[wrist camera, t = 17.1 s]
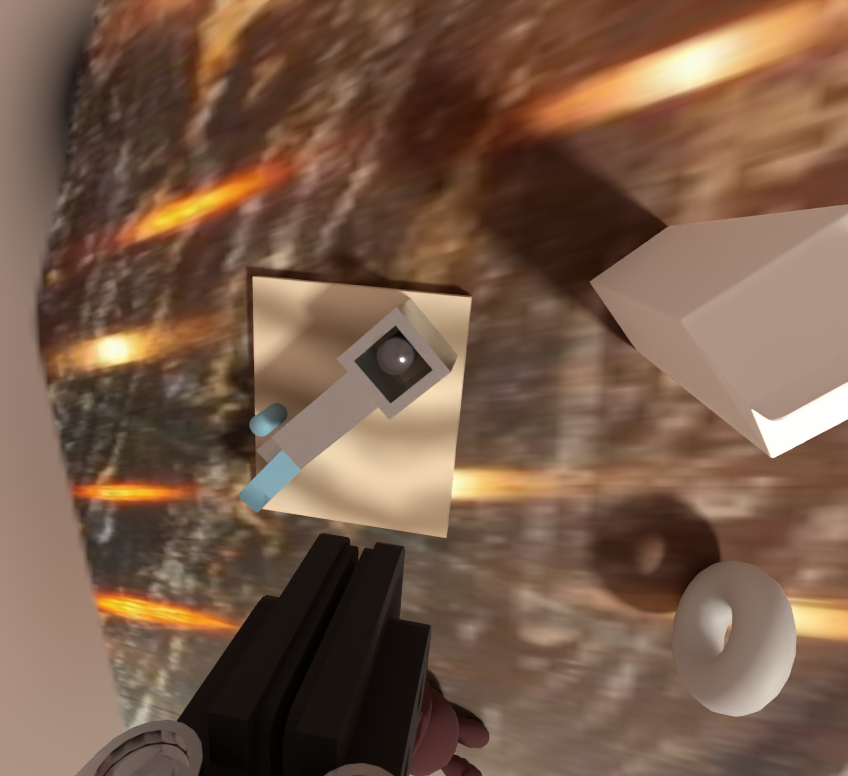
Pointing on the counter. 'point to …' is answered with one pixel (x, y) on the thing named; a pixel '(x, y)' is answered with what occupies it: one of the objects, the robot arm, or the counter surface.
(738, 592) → the donut
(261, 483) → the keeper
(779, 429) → the milk
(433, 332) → the link
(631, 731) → the counter surface
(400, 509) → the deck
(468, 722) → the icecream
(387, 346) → the pintle
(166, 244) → the counter surface
